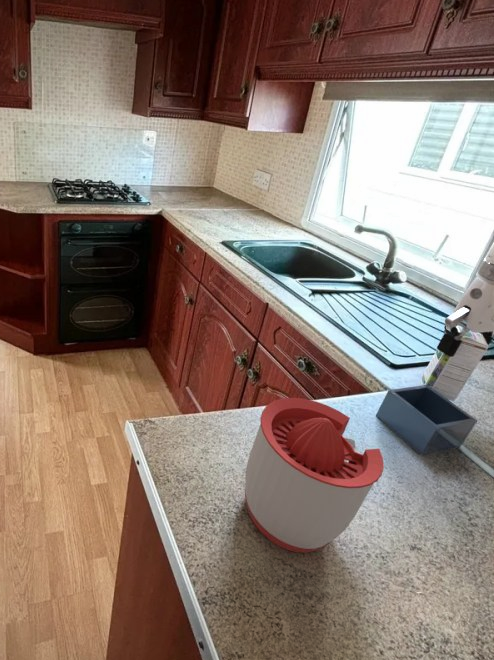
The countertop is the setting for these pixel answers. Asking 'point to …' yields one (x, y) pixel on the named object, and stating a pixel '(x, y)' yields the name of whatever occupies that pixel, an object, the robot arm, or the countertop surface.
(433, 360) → the syrup box
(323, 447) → the citrus juicer
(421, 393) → the box
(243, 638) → the countertop surface
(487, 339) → the robot arm
